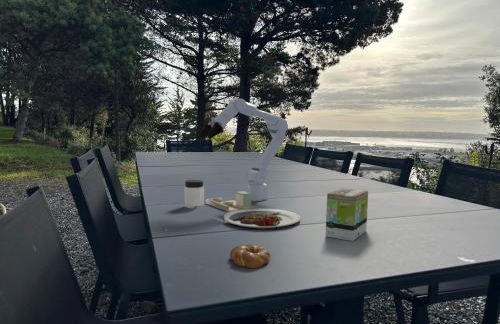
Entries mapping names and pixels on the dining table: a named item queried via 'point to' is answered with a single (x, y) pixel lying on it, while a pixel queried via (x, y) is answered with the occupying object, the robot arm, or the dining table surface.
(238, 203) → the tea tin
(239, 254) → the bagel
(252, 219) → the plated food
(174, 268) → the dining table surface
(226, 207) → the beige compartment tray
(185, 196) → the jar
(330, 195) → the tea box
